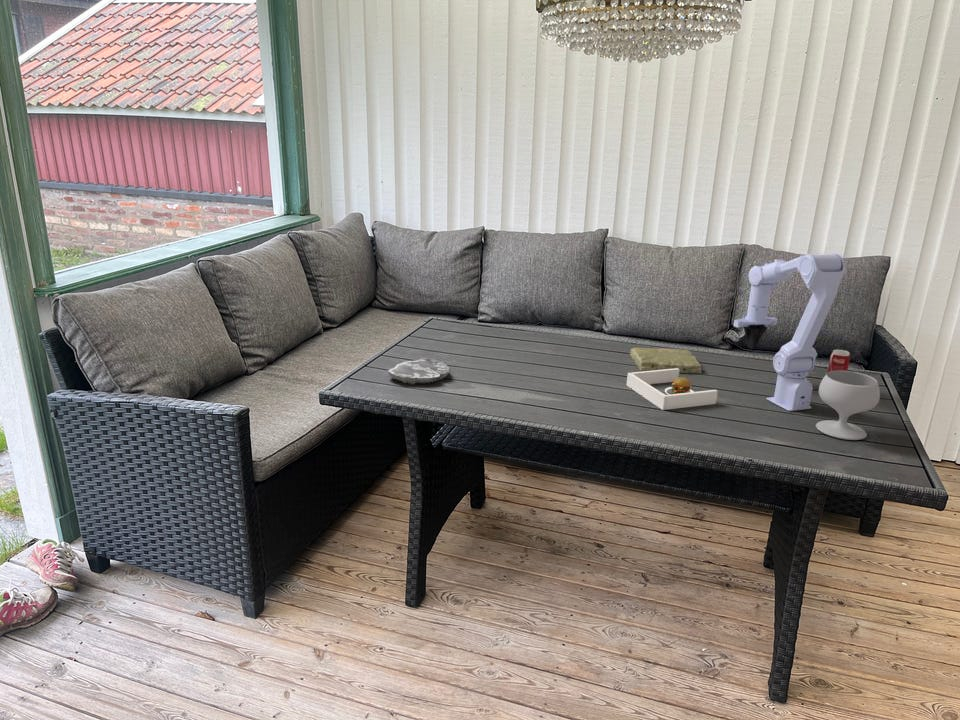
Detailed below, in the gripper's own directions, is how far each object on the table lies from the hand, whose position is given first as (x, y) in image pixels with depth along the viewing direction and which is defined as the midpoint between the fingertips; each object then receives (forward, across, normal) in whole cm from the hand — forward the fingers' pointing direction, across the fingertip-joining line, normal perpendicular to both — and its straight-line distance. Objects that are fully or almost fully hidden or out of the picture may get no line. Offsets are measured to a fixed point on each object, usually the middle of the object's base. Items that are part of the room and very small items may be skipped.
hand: (751, 347), depth 215 cm
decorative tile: (+11, +17, -20) cm, 28 cm away
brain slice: (+11, +98, -28) cm, 103 cm away
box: (+10, +31, +5) cm, 33 cm away
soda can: (+11, -21, +14) cm, 27 cm away
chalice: (+11, +2, +40) cm, 41 cm away
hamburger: (+11, +28, +5) cm, 30 cm away
